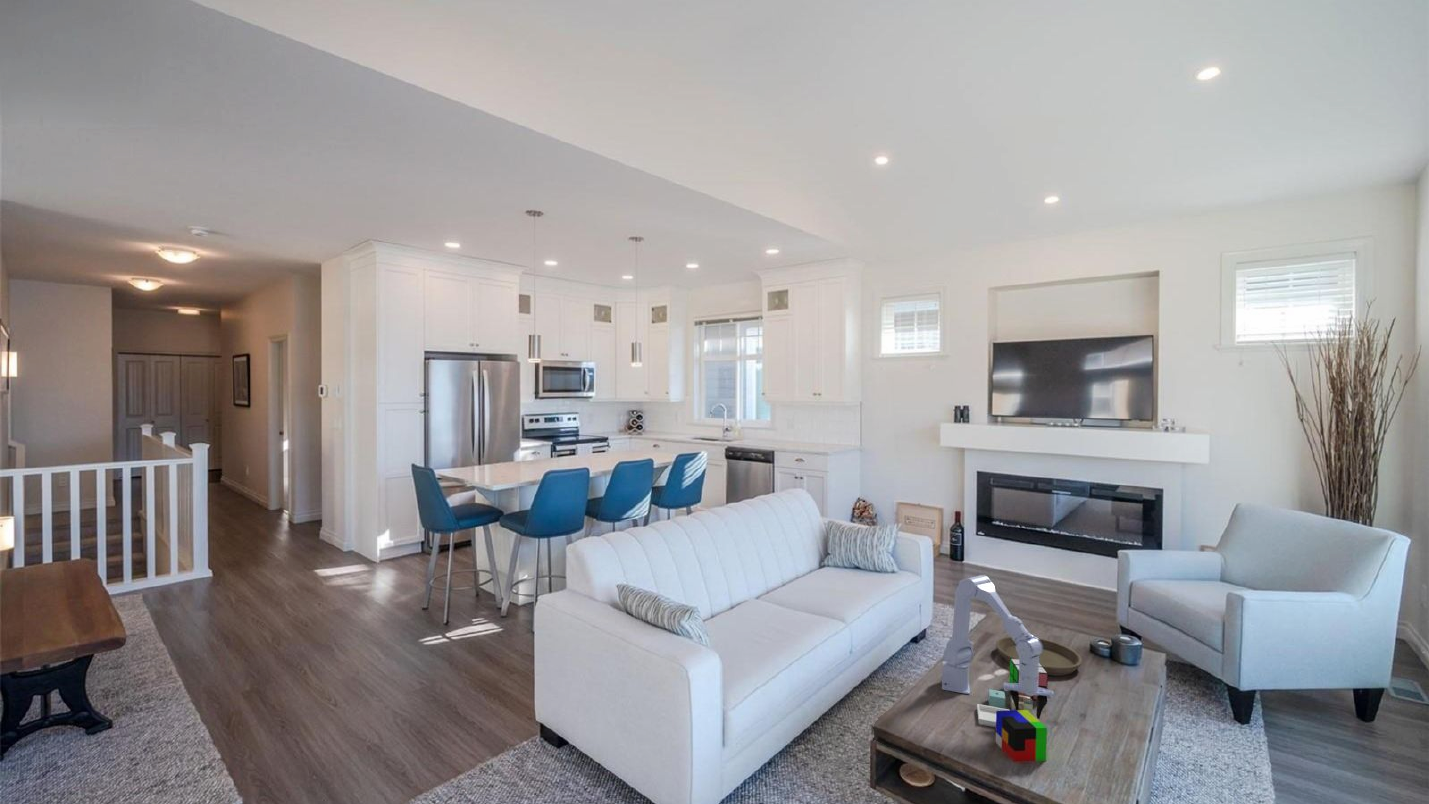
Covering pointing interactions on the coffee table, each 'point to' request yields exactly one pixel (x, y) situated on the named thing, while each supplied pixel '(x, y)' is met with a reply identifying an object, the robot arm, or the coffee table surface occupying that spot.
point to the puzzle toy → (1021, 735)
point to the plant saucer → (1045, 656)
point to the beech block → (1019, 702)
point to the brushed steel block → (1028, 705)
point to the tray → (988, 714)
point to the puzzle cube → (1015, 676)
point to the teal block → (996, 698)
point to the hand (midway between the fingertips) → (1027, 715)
